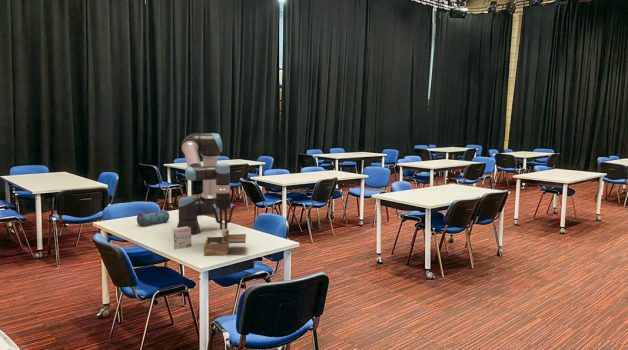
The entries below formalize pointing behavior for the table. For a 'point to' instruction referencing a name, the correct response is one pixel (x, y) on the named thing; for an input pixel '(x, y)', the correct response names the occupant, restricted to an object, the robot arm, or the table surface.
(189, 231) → the ink box
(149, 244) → the table surface
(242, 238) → the lid
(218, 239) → the oak box
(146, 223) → the pencil case
